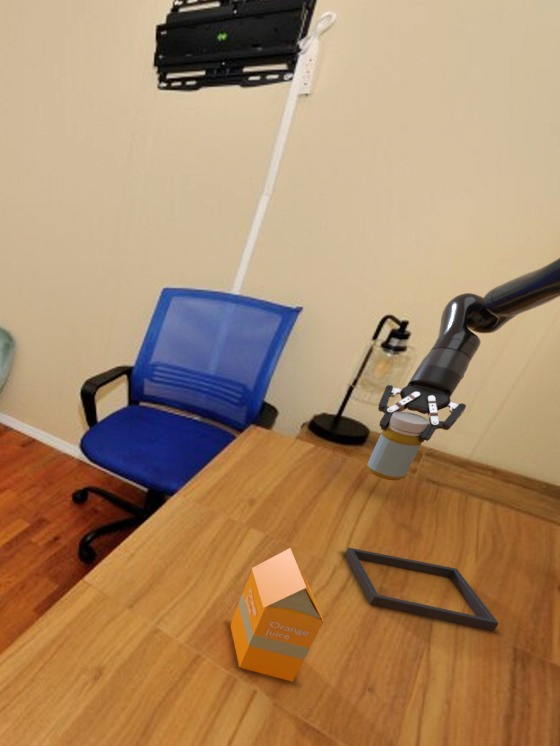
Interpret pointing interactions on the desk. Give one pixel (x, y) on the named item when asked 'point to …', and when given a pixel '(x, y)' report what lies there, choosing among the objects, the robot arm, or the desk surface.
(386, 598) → the dark rectangular frame
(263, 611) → the orange juice
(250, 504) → the desk surface
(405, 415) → the bottle
